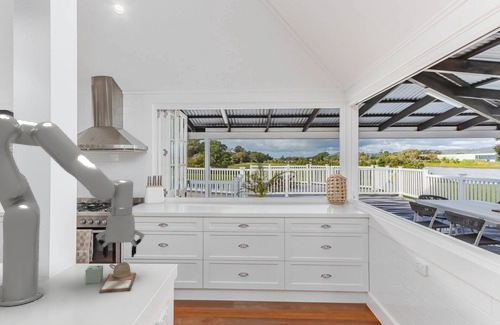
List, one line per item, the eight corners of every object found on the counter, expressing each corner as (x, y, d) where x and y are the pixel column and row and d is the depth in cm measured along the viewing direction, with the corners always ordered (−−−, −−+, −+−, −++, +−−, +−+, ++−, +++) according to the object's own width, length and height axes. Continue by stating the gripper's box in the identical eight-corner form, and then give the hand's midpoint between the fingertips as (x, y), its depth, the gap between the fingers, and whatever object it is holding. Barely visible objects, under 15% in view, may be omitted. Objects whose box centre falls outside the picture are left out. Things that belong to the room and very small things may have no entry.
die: (85, 283, 114) (85, 270, 114) (88, 278, 119) (89, 265, 119) (99, 282, 115) (100, 269, 115) (102, 278, 120) (103, 264, 120)
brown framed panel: (99, 293, 106) (99, 289, 106) (109, 276, 121) (109, 273, 121) (130, 291, 108) (130, 287, 108) (135, 275, 124) (135, 272, 124)
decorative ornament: (132, 275, 120) (133, 261, 120) (110, 280, 115) (110, 265, 115) (129, 272, 123) (129, 259, 123) (107, 277, 118) (107, 263, 118)
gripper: (94, 213, 113) (92, 260, 113) (144, 213, 117) (142, 258, 117) (99, 210, 120) (97, 254, 120) (146, 210, 125) (144, 253, 124)
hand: (119, 256), depth 118 cm, fingers open, 9 cm apart
